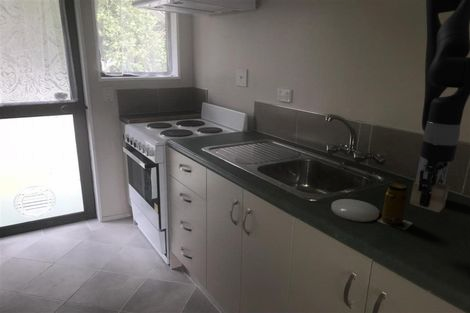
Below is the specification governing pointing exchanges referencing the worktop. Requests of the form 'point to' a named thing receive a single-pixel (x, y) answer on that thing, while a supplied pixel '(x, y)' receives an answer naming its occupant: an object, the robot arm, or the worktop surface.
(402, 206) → the condiment
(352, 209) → the dish
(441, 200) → the block
